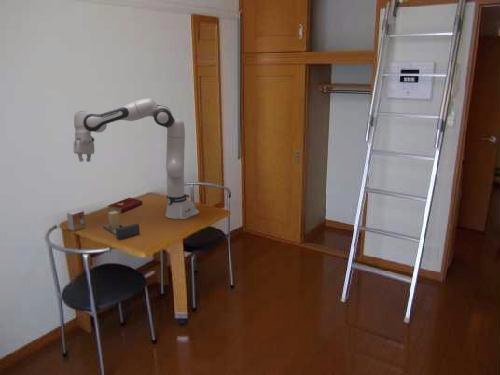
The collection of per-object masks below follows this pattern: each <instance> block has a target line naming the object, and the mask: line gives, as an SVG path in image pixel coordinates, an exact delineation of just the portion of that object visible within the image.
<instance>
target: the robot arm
mask: <svg viewBox="0 0 500 375" xmlns="http://www.w3.org/2000/svg"><path fill="white" fill-rule="evenodd" d="M147 117H152V118H153V119H154V122H155V124H157V125H159V126H161V127H164V128H166V158H165V160H166V162H165V164H166V165H165V171H166V191H167V192H166V212H165V217H166V218H169V219H173V220H174V219H175V220H177V219H178V220H186V219H188V218H191V217H193V216H196V215H198V214H199V213H200V211H199V210H198V209H197V208H196V205H195V204H194V203H193V202H192V201H191V200H189V199H190V197H191V195H190V194H186V193H185V144H186V142H185V141H186V130H185V129H186V128H185V123H184V121H183V120H182V119H181V118H178V117H177V118H176V117H174V116H173V113H172V111H171V109H170V108H169V107H167V106H165V105H160V104H157V102H156V101H155V100H154V99H153V98H151V97H145V98H141V99H138V100H134V101H132V102H129V103H126V104H124V105H122V106H120V107H119V108H116V109H113V110H110V111H107V112H102V113H99V114H98V113H97V114H96V113H90V112H88V111H87V110H80V111H77V112H75V114H74V116H73V123H74V125H73V127H74V129H75V131H74V132H75V133H74V138H75V139H74V141H73V153H74V154H76V155H77V157H78V160H79V162H80V163H81V162H84V158H83V155H86V162H89V163H90V162H91V157H92V155H94V154H95V137H93V136H92V133H91V132H93V133H102V132H104V131H106V129H107V124H110V123H113V122H116V121H126V122H127V121H128V122H133V121H138V120H141V119H144V118H147Z"/></svg>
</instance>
